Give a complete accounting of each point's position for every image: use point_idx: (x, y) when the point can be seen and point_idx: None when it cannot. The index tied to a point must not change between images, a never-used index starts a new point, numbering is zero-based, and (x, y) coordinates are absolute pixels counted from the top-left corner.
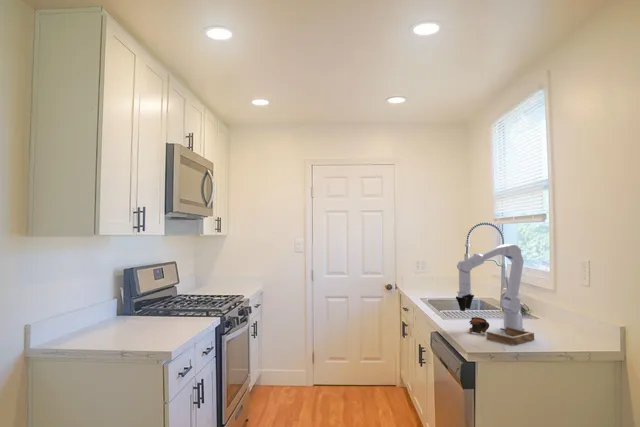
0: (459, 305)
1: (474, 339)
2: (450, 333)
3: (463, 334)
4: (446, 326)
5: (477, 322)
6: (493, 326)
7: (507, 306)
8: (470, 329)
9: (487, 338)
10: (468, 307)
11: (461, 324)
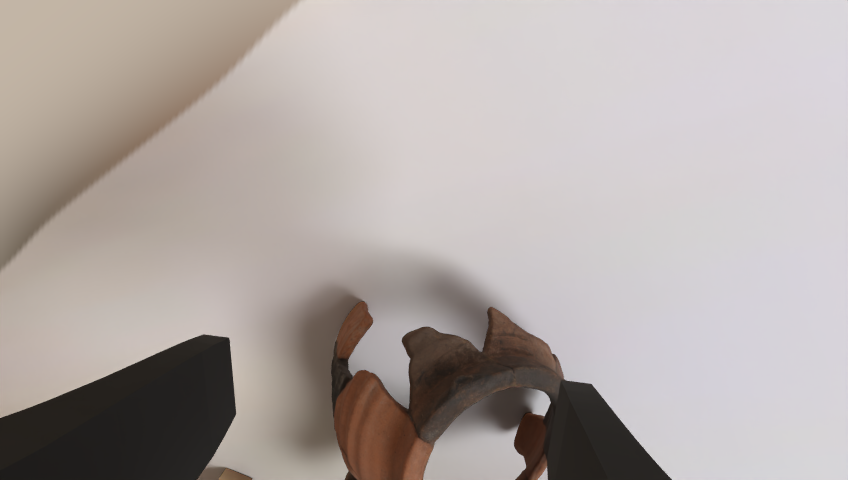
0: (81, 398)
1: None
2: (163, 135)
3: (221, 269)
4: None
5: (347, 457)
6: (796, 470)
7: None
8: (349, 325)
9: (224, 473)
10: (555, 459)
11: (749, 102)
